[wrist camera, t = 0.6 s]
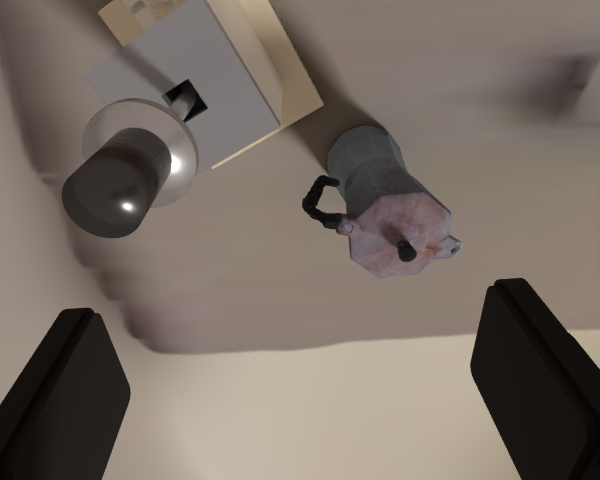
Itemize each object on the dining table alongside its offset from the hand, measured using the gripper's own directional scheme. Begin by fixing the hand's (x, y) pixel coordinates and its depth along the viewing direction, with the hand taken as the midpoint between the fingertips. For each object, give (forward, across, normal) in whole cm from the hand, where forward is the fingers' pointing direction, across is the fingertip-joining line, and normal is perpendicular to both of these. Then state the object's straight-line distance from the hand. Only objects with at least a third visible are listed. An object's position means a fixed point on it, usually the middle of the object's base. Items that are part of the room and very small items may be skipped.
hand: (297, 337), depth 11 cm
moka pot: (+41, -8, +12) cm, 44 cm away
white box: (+41, +7, 0) cm, 42 cm away
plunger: (+31, +7, 0) cm, 32 cm away
